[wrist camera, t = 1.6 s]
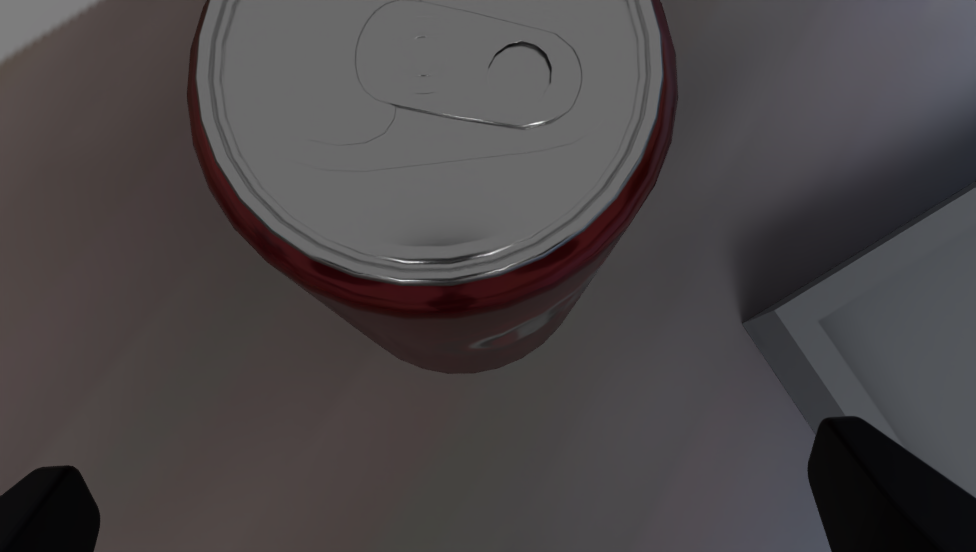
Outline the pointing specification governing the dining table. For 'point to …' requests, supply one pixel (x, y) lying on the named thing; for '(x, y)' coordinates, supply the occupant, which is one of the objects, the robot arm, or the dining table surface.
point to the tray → (890, 339)
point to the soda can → (435, 156)
